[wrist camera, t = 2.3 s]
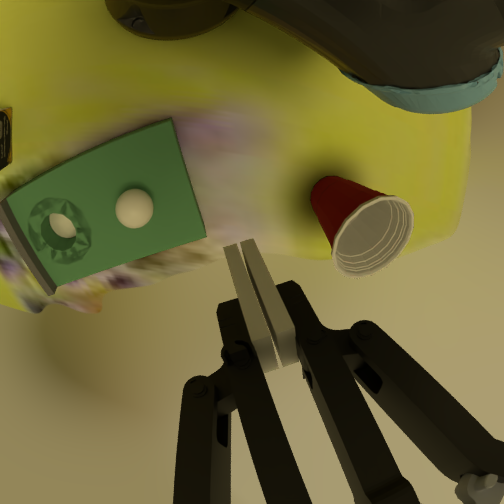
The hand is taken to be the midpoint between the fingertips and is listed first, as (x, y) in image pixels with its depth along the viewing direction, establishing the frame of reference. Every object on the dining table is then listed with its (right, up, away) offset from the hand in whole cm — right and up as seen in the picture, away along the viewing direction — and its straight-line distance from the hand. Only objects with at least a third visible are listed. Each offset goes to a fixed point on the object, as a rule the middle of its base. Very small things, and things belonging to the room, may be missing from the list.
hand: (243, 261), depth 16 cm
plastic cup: (+11, +8, +21) cm, 25 cm away
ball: (-11, +5, +10) cm, 16 cm away
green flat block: (-17, +6, +14) cm, 23 cm away
